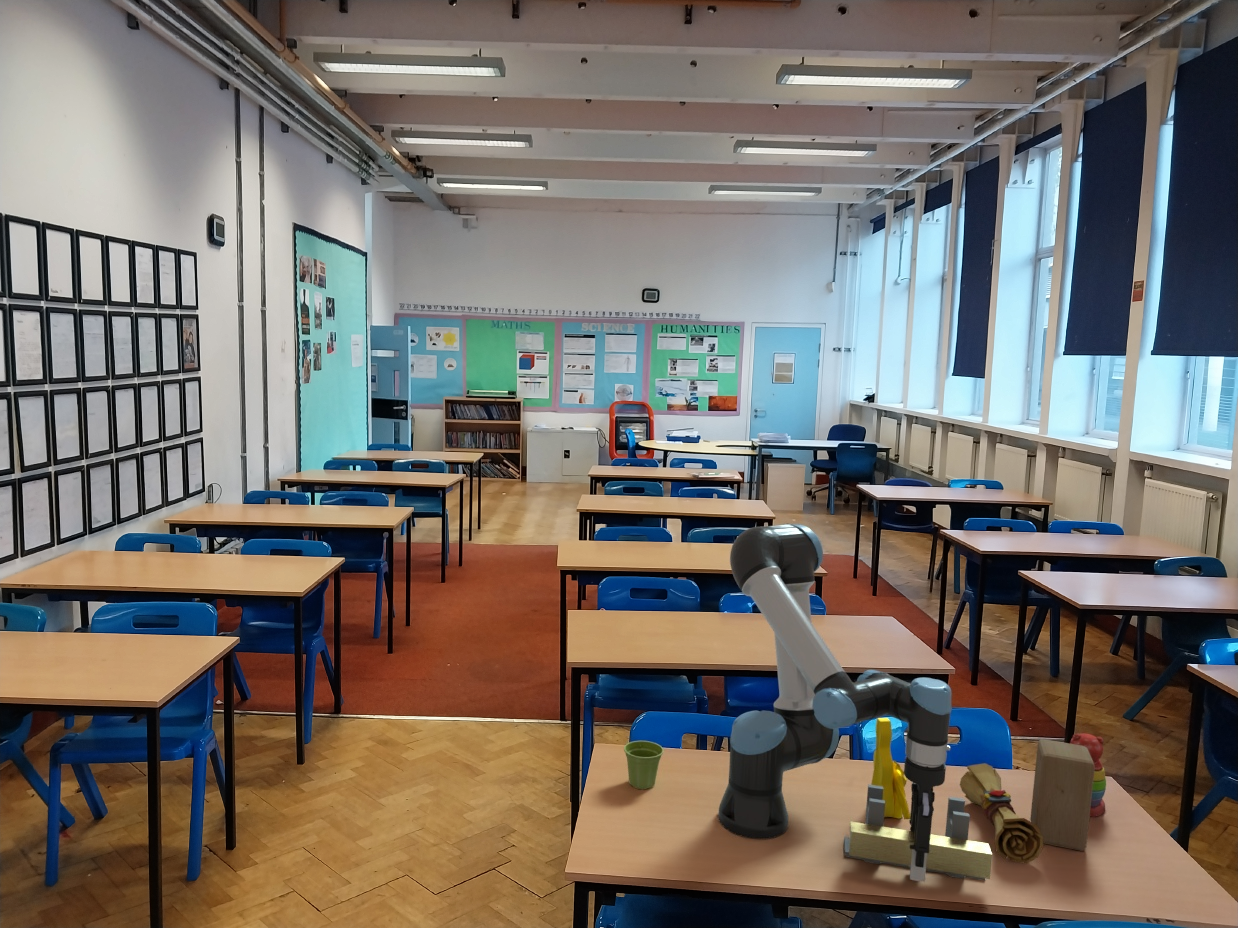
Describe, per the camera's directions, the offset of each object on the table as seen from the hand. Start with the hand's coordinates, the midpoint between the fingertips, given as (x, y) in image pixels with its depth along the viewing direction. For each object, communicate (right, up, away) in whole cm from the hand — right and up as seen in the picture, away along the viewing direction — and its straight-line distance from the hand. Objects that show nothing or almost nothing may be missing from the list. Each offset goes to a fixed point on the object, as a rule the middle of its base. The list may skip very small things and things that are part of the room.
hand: (916, 872), depth 168 cm
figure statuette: (+2, +1, +26) cm, 26 cm away
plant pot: (-53, +4, +35) cm, 64 cm away
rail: (0, +2, 0) cm, 2 cm away
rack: (+2, -1, +7) cm, 7 cm away
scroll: (+25, -1, +20) cm, 32 cm away
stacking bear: (+50, 0, +33) cm, 60 cm away
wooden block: (+37, -1, +19) cm, 42 cm away
